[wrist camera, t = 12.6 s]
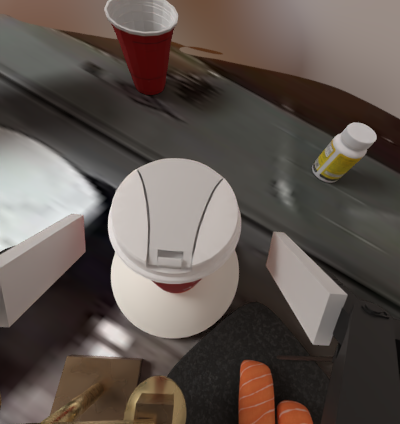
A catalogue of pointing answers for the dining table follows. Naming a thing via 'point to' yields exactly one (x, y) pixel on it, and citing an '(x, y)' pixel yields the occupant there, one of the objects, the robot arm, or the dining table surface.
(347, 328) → the robot arm
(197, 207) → the coffee cup
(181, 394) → the balance
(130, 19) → the plastic cup
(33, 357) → the dining table surface
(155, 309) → the white round disc
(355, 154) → the supplement bottle
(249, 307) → the sushi plate
